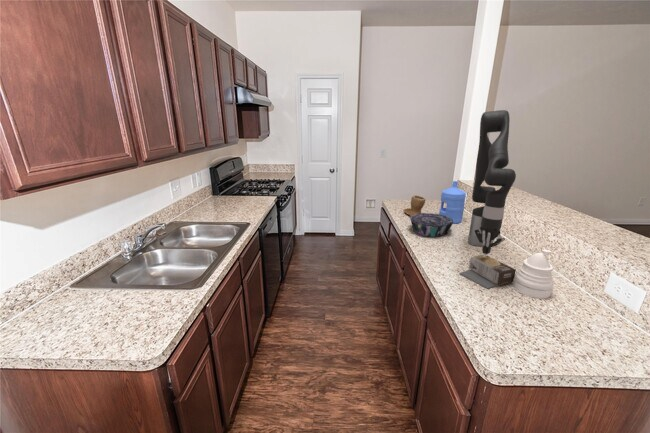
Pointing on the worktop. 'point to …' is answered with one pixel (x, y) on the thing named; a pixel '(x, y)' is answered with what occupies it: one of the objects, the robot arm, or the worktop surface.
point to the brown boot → (415, 205)
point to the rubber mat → (478, 279)
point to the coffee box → (492, 269)
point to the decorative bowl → (431, 224)
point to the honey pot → (535, 276)
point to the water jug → (453, 203)
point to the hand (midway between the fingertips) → (485, 253)
